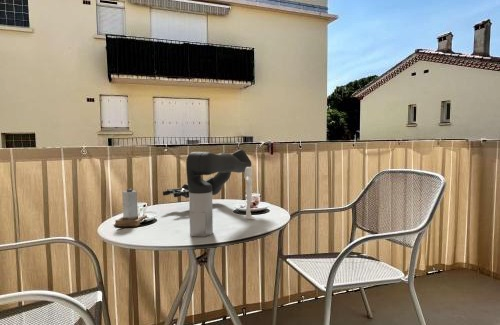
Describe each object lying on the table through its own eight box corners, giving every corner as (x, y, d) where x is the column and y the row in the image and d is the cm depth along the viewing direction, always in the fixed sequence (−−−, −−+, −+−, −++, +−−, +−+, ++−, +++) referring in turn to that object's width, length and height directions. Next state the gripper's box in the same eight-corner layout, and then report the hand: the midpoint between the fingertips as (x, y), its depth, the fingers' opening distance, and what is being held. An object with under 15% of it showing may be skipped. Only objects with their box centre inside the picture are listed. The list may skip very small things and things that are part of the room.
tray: (137, 226, 137) (136, 220, 137) (115, 225, 138) (115, 220, 138) (147, 220, 147) (146, 215, 147) (126, 219, 148) (126, 214, 148)
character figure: (255, 226, 137) (254, 169, 135) (244, 226, 137) (243, 169, 135) (254, 212, 161) (253, 164, 159) (244, 212, 161) (244, 164, 159)
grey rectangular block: (137, 221, 143) (136, 188, 141) (128, 223, 139) (127, 190, 138) (132, 219, 145) (131, 188, 144) (123, 221, 142) (122, 189, 141)
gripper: (201, 197, 168) (178, 203, 155) (183, 195, 177) (160, 200, 164) (201, 184, 168) (177, 188, 155) (183, 182, 176) (159, 185, 163)
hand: (168, 194), depth 159 cm, fingers open, 8 cm apart
